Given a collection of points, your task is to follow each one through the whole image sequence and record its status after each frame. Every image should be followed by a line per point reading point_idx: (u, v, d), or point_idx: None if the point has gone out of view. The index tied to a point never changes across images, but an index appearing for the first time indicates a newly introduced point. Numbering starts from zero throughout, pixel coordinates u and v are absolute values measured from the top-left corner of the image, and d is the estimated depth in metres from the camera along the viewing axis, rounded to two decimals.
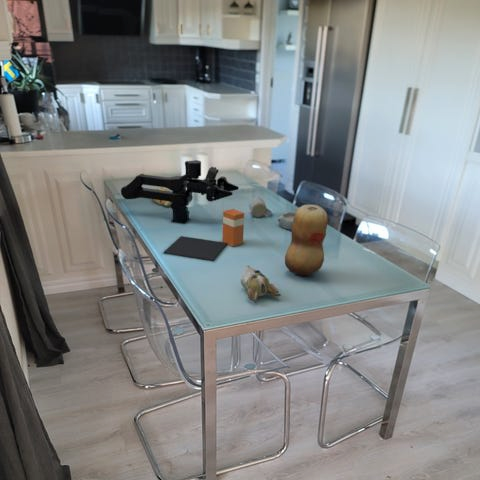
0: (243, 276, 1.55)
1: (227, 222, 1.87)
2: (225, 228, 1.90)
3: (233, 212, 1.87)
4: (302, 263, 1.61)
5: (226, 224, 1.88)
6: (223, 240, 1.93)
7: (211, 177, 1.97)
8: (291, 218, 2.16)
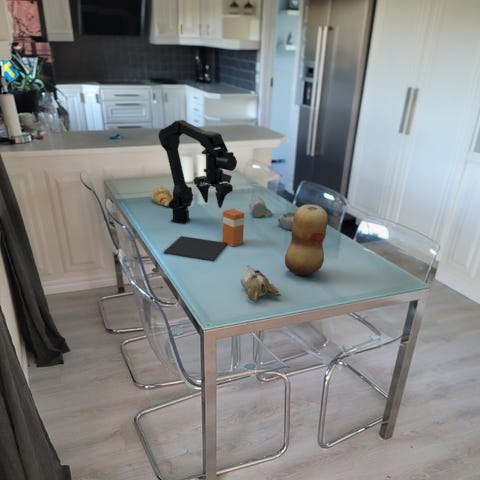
0: (243, 276, 1.55)
1: (227, 222, 1.87)
2: (225, 228, 1.90)
3: (233, 212, 1.87)
4: (302, 263, 1.61)
5: (226, 224, 1.88)
6: (223, 240, 1.93)
7: (226, 180, 1.93)
8: (291, 218, 2.16)
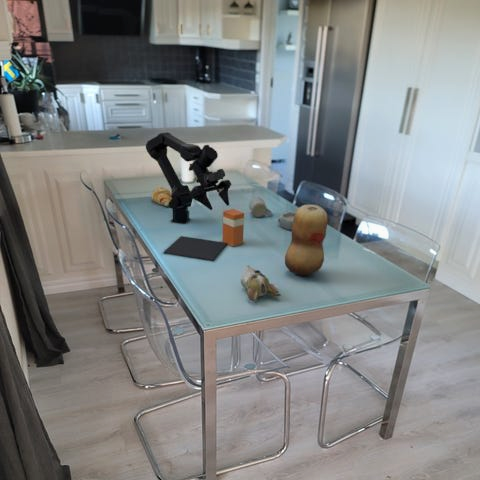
0: (243, 276, 1.55)
1: (227, 222, 1.87)
2: (225, 228, 1.90)
3: (233, 212, 1.87)
4: (302, 263, 1.61)
5: (226, 224, 1.88)
6: (223, 240, 1.93)
7: (210, 179, 1.86)
8: (291, 218, 2.16)
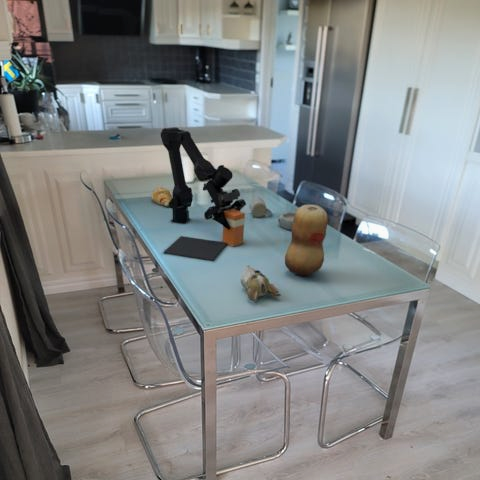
0: (243, 276, 1.55)
1: None
2: (225, 228, 1.89)
3: (234, 212, 1.86)
4: (302, 263, 1.61)
5: None
6: (223, 240, 1.93)
7: (225, 200, 1.84)
8: (291, 218, 2.16)
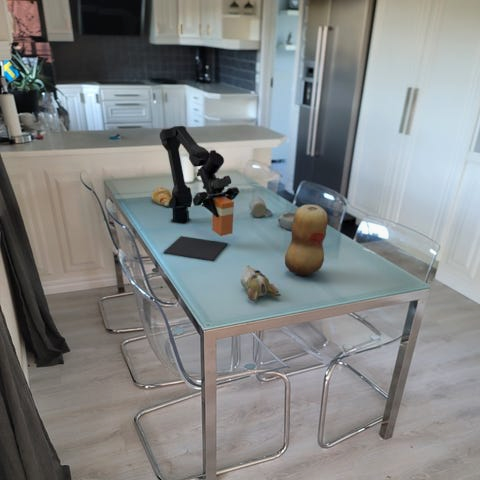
0: (243, 276, 1.55)
1: None
2: (214, 216, 1.84)
3: (223, 200, 1.80)
4: (302, 263, 1.61)
5: None
6: (213, 229, 1.88)
7: (214, 186, 1.78)
8: (291, 218, 2.16)
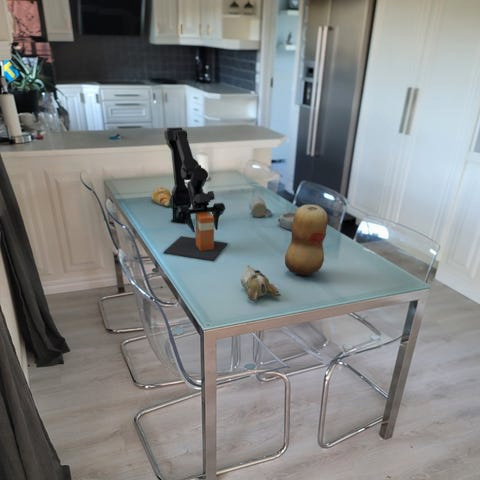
0: (243, 276, 1.55)
1: (197, 225, 1.82)
2: (196, 230, 1.84)
3: (204, 215, 1.80)
4: (302, 263, 1.61)
5: (197, 227, 1.83)
6: (196, 243, 1.88)
7: (196, 201, 1.78)
8: (291, 218, 2.16)
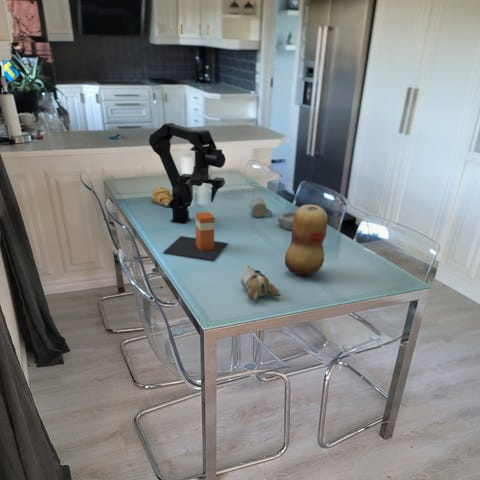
0: (243, 276, 1.55)
1: (197, 225, 1.82)
2: (196, 230, 1.84)
3: (204, 215, 1.80)
4: (302, 263, 1.61)
5: (197, 227, 1.83)
6: (196, 243, 1.88)
7: None
8: (291, 218, 2.16)
